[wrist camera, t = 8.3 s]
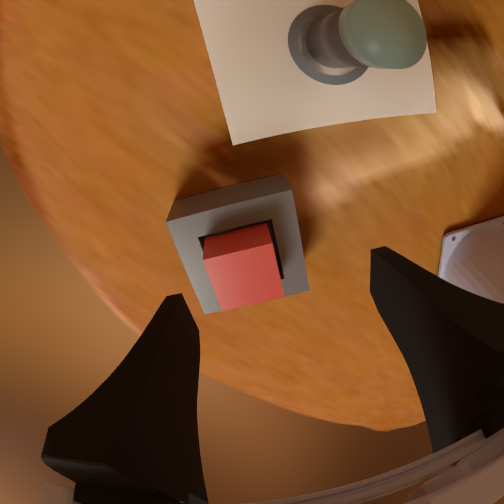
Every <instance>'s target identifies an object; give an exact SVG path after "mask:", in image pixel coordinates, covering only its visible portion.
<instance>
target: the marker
mask: <svg viewBox="0 0 504 504" xmlns="http://www.w3.org/2000/svg"><path fill="white" fill-rule="evenodd" d="M306 46H307V49H308V51H309V53H310V55H311V56H312V58H313V59H314V60H315V61H317V62H318V63H319V64H321V65H323V66H325V67H329V68H361V67H372V68H380V69H405V68H409V67H411V66H413V65H415V64H416V63H417V62H419V61H420V59H421V58H422V57H423V55H424V53H425V50H426V46H427V34H426V29H425V26H424V23H423V21H422V19H421V17H420V15H419V14H418V12H417V11H416V10H415V8H414V7H413V6H412V5H411V4H410V3H408V2H407V1H406V0H354V1H352V2H351V3H349V4H348V5H347V6H345V7H343V8H341V9H339V10H337V11H335V12H333V13H332V14H330V15H328V16H326V17H324V18H322V19H321V20H319V21H317V22H315V23H314V24H313V25H312V26H311V27H310V28H309V30H308V32H307V35H306Z"/></svg>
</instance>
